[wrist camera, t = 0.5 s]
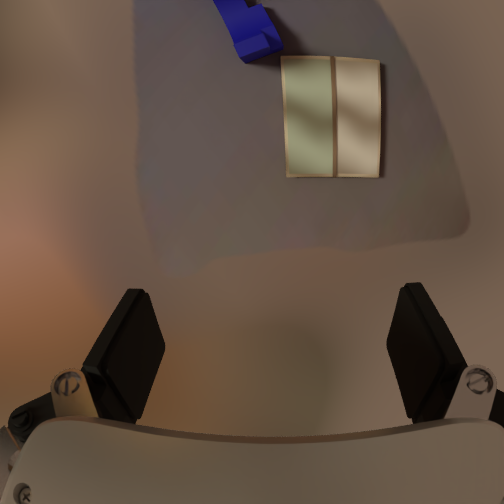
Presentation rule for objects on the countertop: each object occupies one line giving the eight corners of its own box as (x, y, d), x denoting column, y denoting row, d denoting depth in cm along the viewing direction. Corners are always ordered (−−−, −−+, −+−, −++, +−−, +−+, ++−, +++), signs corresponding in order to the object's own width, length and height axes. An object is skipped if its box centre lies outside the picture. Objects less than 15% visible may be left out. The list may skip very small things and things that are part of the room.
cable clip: (283, 49, 29) (284, 41, 23) (245, 63, 30) (239, 57, 24) (241, -31, 23) (234, -51, 18) (205, -17, 25) (192, -34, 19)
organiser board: (280, 57, 29) (280, 55, 28) (376, 61, 28) (380, 60, 27) (286, 174, 36) (286, 177, 34) (375, 174, 35) (379, 178, 33)
